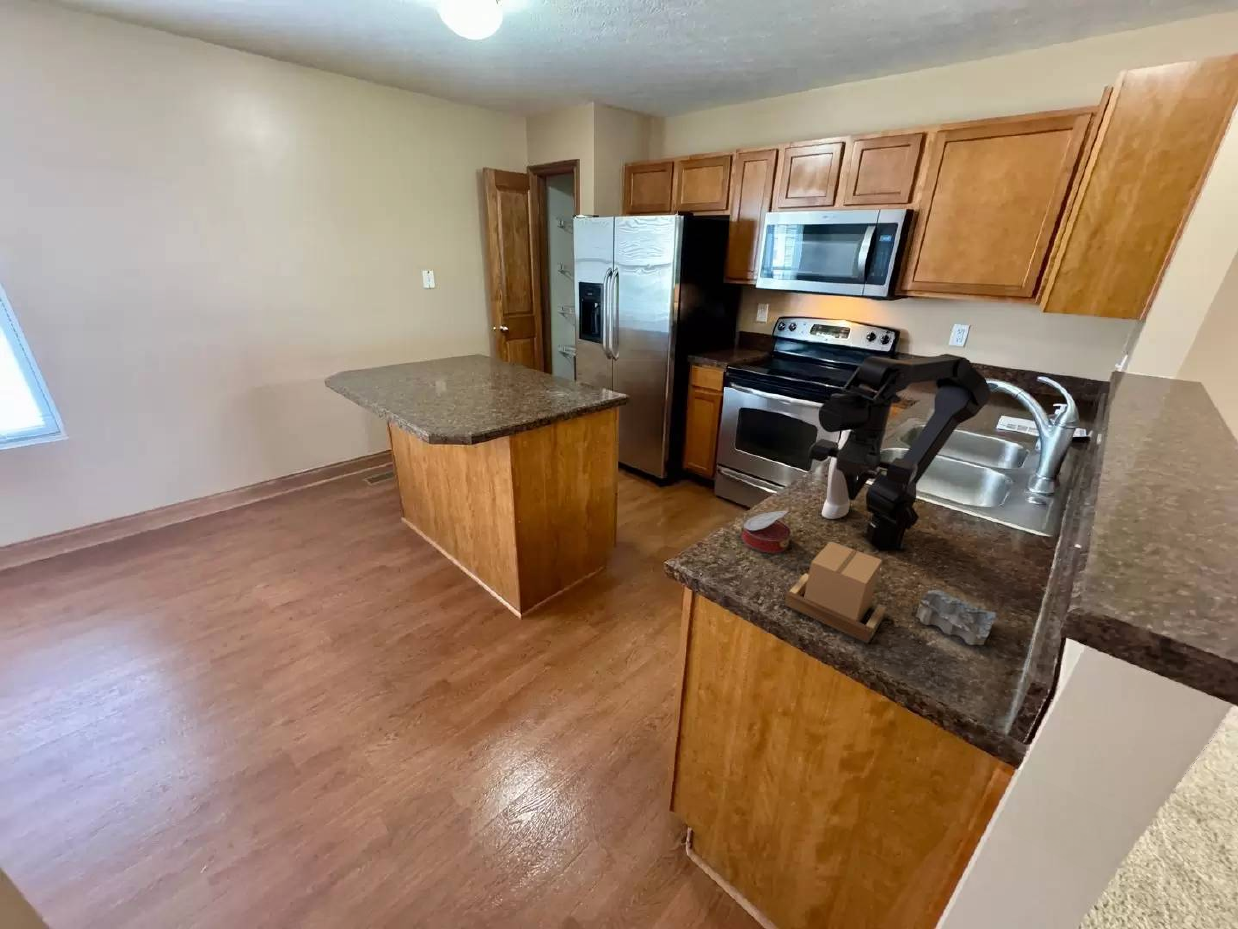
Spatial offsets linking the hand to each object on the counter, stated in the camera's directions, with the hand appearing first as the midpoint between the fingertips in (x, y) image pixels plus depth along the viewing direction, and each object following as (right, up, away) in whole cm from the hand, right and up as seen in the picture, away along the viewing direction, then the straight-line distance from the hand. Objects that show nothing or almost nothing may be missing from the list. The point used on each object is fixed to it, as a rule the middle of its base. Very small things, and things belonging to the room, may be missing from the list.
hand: (851, 499), depth 103 cm
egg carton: (+11, -21, -14) cm, 27 cm away
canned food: (-15, -10, +10) cm, 20 cm away
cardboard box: (-8, -19, -11) cm, 23 cm away
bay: (-8, -19, -11) cm, 23 cm away
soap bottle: (+5, -4, +23) cm, 24 cm away
